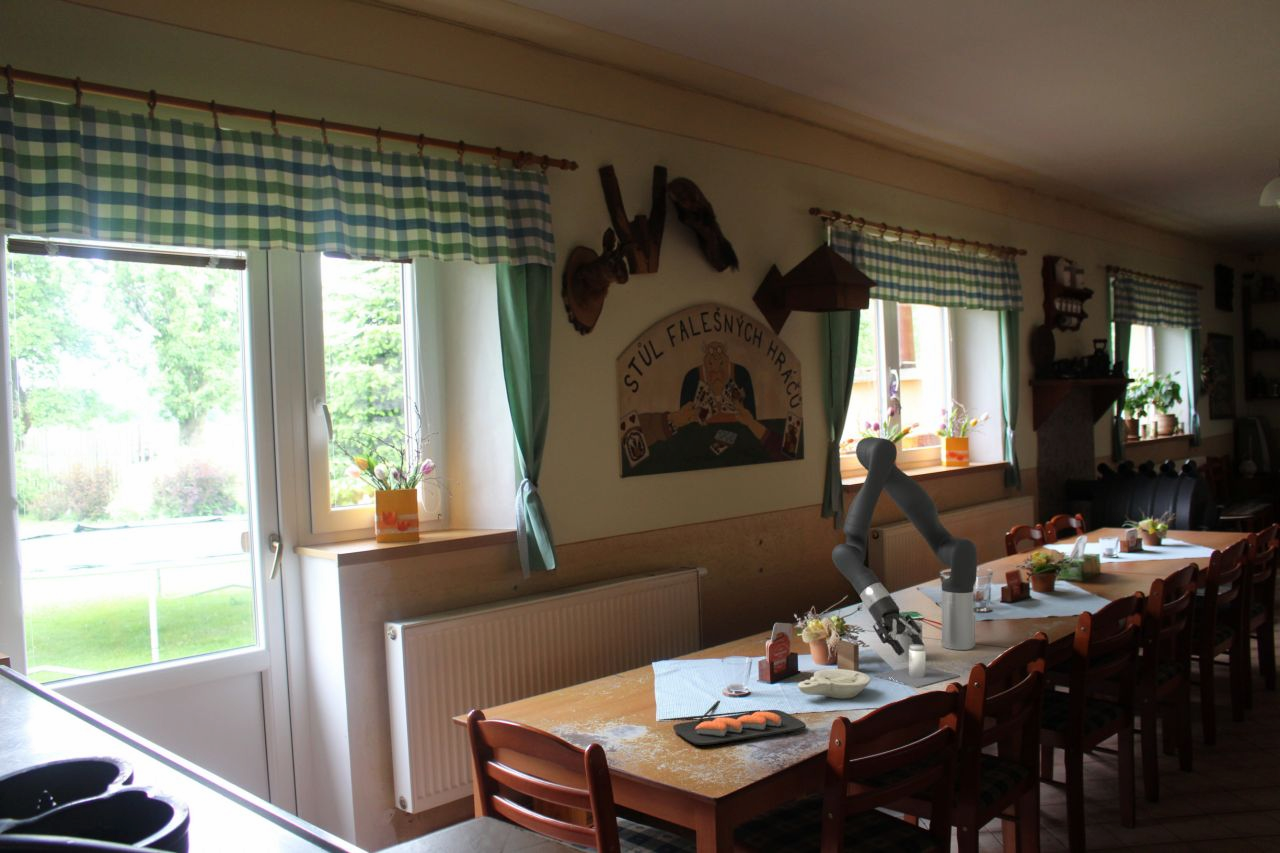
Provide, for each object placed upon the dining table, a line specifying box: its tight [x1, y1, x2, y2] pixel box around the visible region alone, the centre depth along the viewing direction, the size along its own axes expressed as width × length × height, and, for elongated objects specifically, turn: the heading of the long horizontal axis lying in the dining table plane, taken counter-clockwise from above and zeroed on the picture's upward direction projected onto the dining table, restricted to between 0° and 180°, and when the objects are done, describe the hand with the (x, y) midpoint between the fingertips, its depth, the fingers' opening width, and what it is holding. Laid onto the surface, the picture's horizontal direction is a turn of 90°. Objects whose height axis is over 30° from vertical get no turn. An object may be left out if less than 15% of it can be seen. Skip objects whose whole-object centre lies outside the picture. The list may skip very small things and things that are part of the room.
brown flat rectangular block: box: [836, 640, 860, 672], centre depth 275 cm, size 2×6×8 cm, turn 35°
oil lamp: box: [797, 668, 871, 700], centre depth 251 cm, size 21×14×5 cm
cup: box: [892, 620, 923, 662], centre depth 289 cm, size 8×8×10 cm
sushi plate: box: [658, 700, 807, 746], centre depth 232 cm, size 29×30×4 cm
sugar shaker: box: [908, 644, 927, 677], centre depth 269 cm, size 4×4×8 cm
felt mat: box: [874, 666, 961, 688], centre depth 269 cm, size 18×14×1 cm
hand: (912, 651), depth 271 cm, fingers open, 8 cm apart
